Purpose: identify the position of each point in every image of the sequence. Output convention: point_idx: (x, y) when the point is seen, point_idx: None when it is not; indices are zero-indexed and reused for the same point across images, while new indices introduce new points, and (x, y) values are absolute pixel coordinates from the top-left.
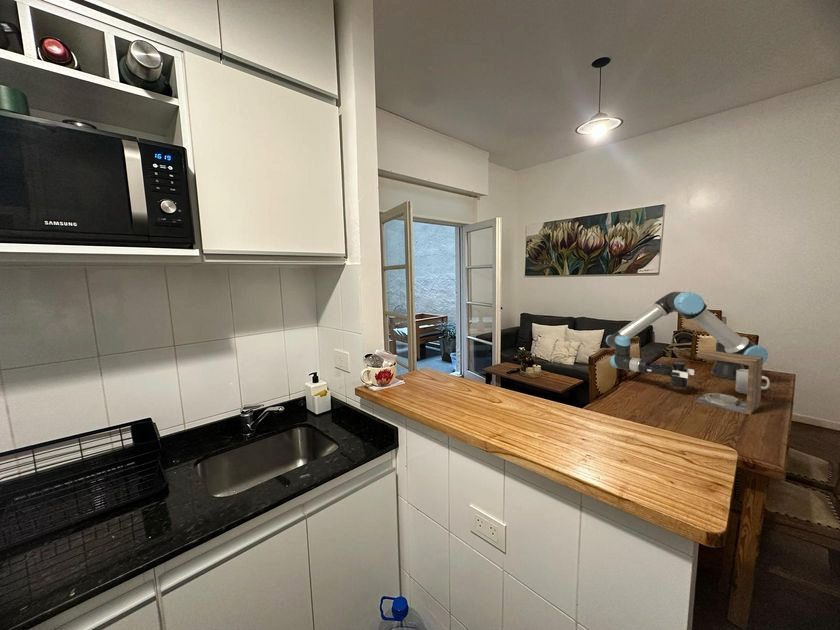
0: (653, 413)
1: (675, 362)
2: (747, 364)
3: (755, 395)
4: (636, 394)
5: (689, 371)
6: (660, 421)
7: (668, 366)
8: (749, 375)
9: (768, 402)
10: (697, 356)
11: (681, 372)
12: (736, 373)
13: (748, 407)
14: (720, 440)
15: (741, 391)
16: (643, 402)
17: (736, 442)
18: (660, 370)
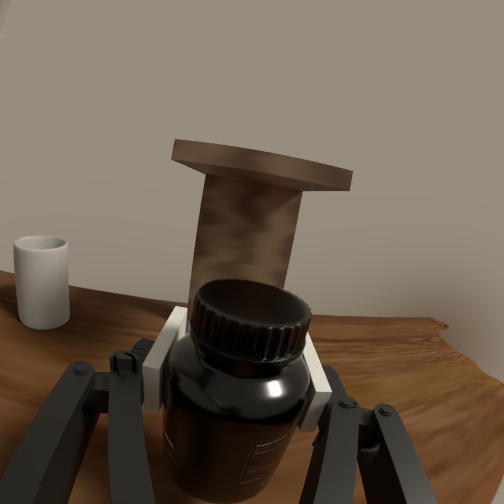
0: (498, 426)
1: (244, 314)
2: (302, 191)
3: None
4: None
5: (178, 337)
6: (501, 398)
7: (128, 451)
8: (295, 225)
9: (127, 307)
10: (350, 183)
11: (313, 351)
12: (30, 263)
13: None
14: (446, 345)
15: (61, 320)
16: (484, 492)
17: (429, 337)
18: (415, 457)
